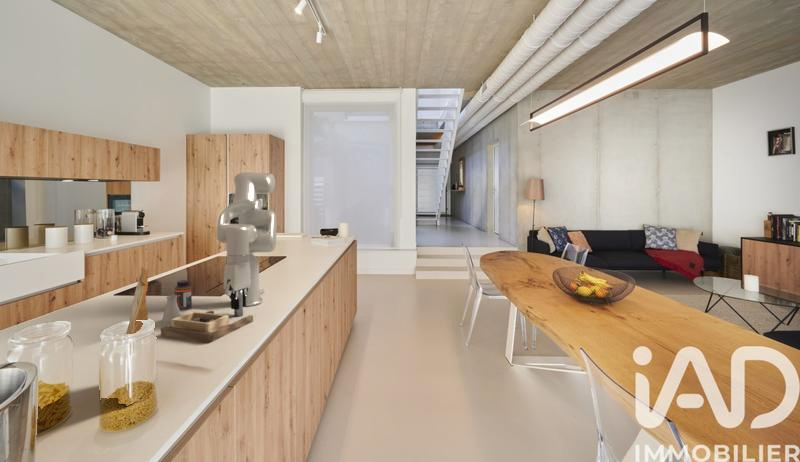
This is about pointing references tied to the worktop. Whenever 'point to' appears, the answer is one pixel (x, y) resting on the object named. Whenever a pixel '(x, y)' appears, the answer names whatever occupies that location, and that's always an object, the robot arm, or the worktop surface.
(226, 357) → the worktop surface
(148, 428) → the worktop surface
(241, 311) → the handle peg
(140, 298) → the pancake mix bag
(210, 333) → the bay
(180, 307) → the supplement bottle
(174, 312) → the flask
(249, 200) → the robot arm
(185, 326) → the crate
